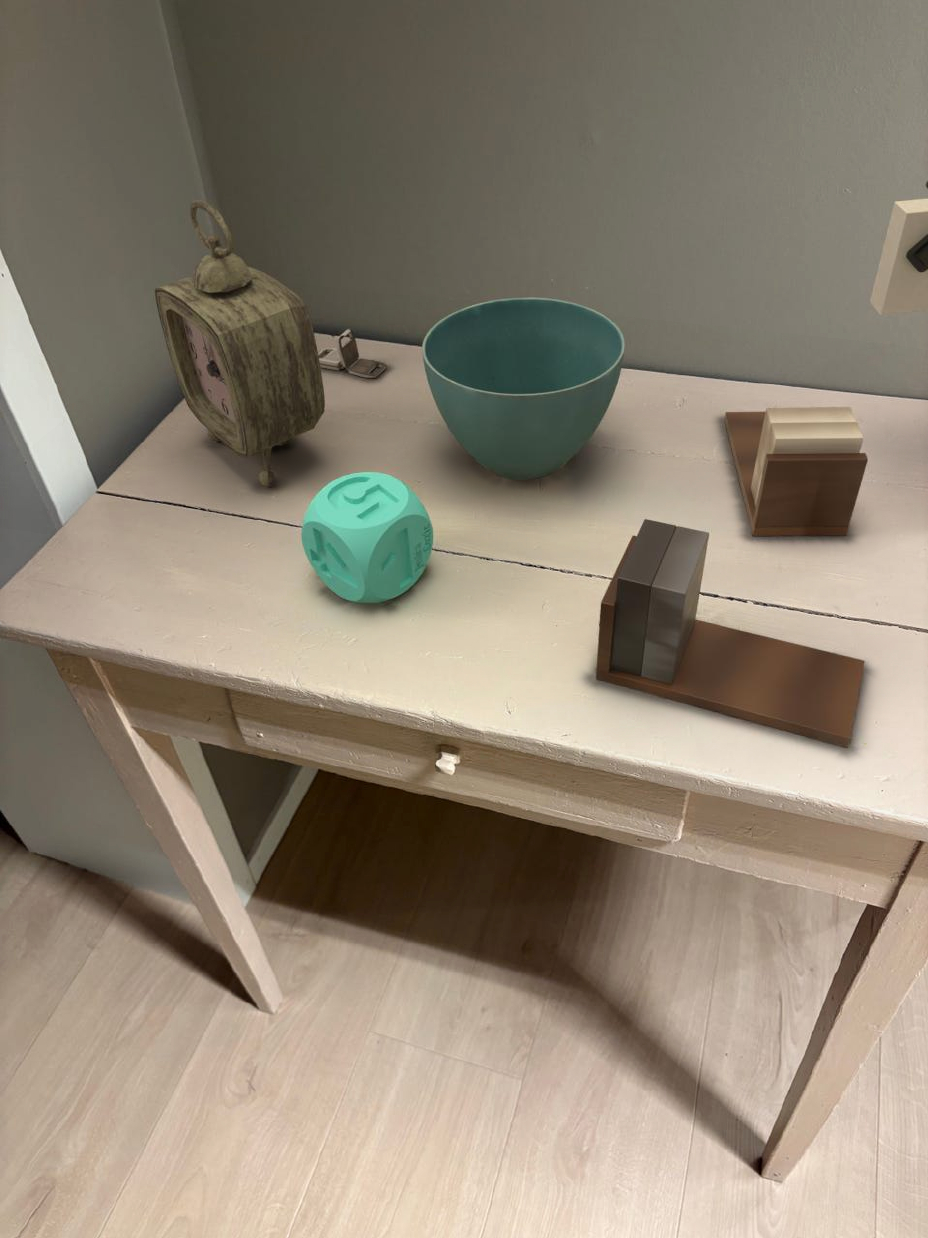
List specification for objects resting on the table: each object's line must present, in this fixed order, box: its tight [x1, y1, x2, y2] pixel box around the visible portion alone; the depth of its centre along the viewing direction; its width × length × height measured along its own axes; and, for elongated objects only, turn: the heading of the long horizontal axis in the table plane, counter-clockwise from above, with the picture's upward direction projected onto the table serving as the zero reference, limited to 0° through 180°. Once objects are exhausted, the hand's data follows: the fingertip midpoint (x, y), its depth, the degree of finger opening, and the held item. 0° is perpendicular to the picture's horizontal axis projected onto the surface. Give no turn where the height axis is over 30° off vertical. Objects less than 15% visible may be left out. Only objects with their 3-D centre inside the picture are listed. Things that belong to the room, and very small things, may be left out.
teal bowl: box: [421, 297, 626, 481], centre depth 91 cm, size 18×18×12 cm
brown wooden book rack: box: [724, 406, 869, 537], centre depth 87 cm, size 19×8×10 cm, turn 177°
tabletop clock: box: [154, 199, 326, 487], centre depth 89 cm, size 14×9×25 cm, turn 38°
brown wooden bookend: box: [595, 518, 866, 748], centre depth 69 cm, size 18×8×10 cm, turn 67°
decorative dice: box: [300, 471, 434, 604], centre depth 80 cm, size 8×8×8 cm
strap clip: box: [318, 328, 387, 379], centre depth 108 cm, size 8×3×4 cm, turn 63°
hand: (905, 255), depth 78 cm, fingers closed on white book, 2 cm apart
